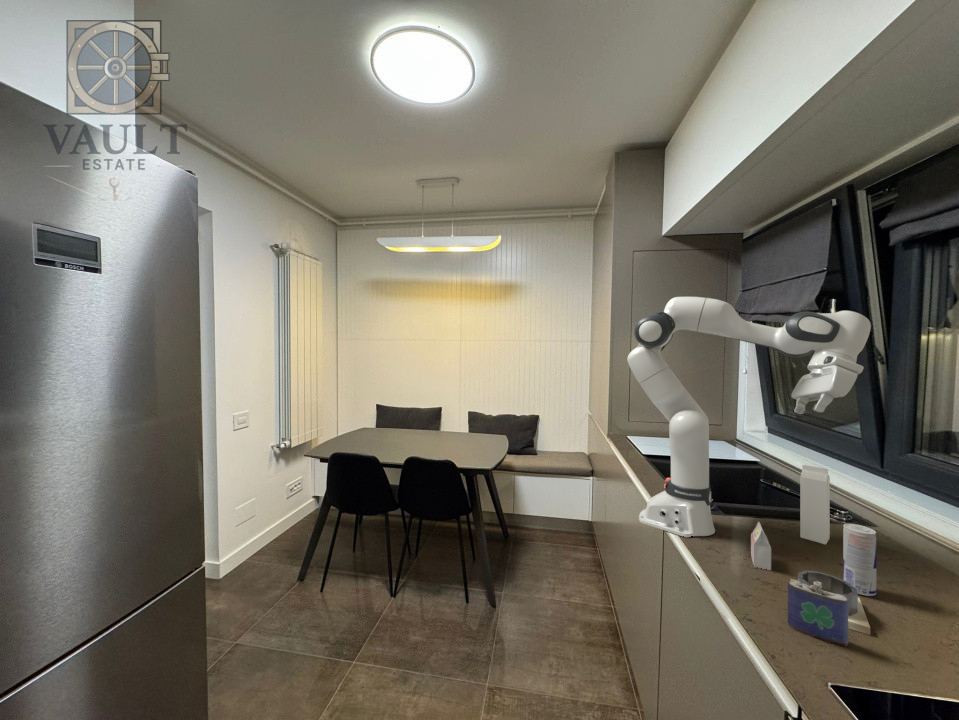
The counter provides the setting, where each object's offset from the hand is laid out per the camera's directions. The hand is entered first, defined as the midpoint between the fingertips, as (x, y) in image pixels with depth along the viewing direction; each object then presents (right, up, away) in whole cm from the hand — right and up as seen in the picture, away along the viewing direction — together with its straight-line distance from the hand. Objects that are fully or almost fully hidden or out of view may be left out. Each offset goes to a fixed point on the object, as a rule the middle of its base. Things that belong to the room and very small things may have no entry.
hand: (807, 412), depth 103 cm
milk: (+14, -41, +13) cm, 45 cm away
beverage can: (+1, -41, -13) cm, 43 cm away
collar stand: (-12, -41, -19) cm, 47 cm away
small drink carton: (-13, -41, 0) cm, 43 cm away
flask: (-21, -41, -27) cm, 54 cm away
